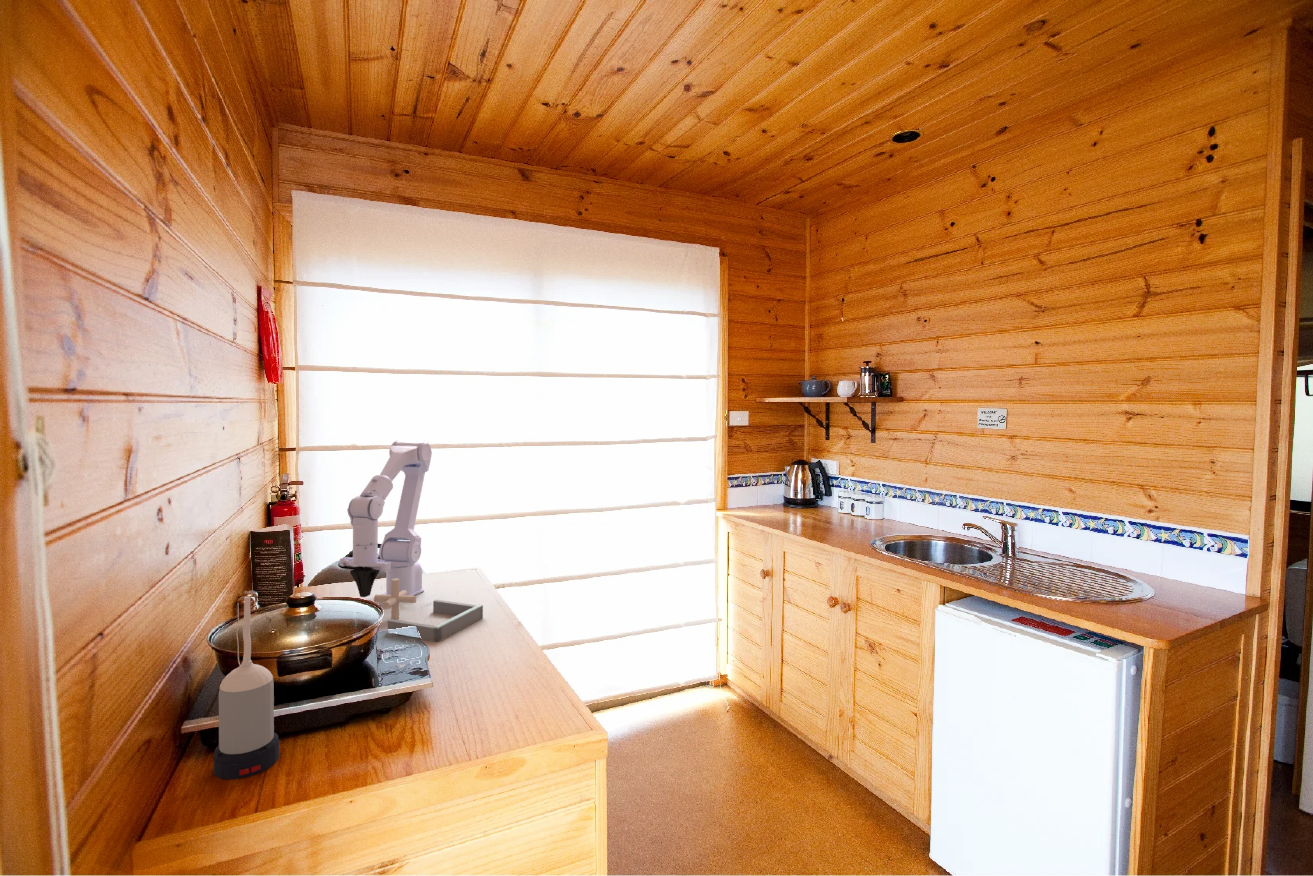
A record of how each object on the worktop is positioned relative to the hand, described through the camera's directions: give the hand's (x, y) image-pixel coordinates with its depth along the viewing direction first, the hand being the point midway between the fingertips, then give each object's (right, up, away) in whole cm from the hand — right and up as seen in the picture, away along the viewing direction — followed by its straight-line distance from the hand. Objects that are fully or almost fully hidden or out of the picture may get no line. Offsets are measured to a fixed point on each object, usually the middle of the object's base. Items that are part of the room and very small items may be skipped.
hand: (365, 596), depth 156 cm
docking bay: (+20, -5, -6) cm, 22 cm away
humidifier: (+14, -8, -65) cm, 67 cm away
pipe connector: (+9, -5, -3) cm, 11 cm away
